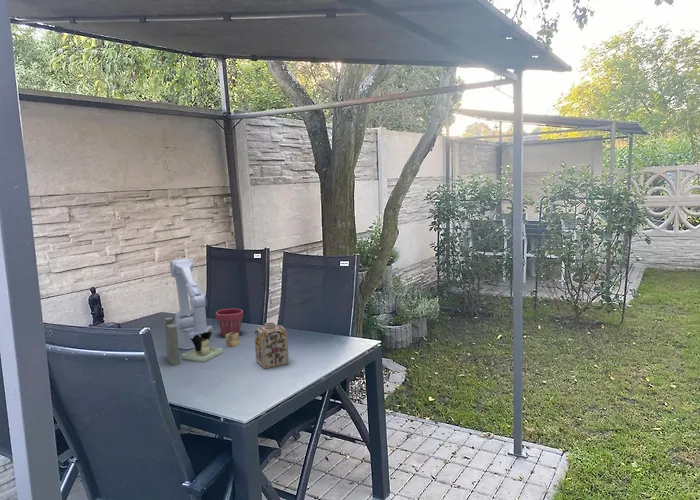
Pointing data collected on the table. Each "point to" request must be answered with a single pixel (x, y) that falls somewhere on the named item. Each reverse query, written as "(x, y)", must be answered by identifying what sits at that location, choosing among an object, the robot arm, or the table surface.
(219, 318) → the plant pot
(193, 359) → the tray
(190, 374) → the table surface
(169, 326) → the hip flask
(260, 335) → the decorative jar
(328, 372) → the table surface
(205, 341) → the birch block
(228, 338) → the oak block
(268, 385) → the table surface
